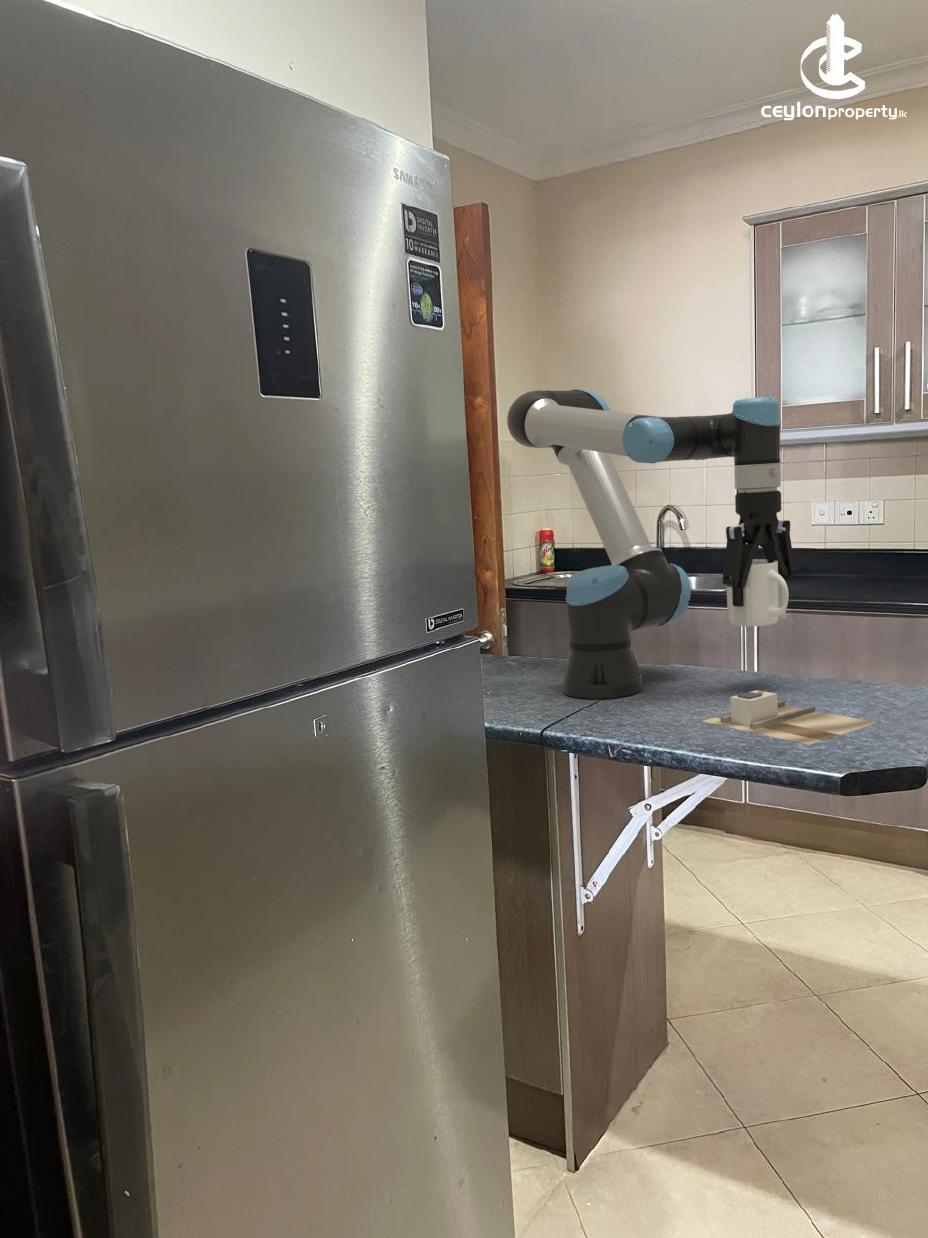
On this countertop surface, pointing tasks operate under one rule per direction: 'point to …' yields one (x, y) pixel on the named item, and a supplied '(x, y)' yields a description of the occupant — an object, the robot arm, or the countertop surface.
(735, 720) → the block
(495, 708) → the countertop surface
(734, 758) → the countertop surface
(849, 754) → the countertop surface
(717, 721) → the subfloor panel
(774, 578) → the mug
